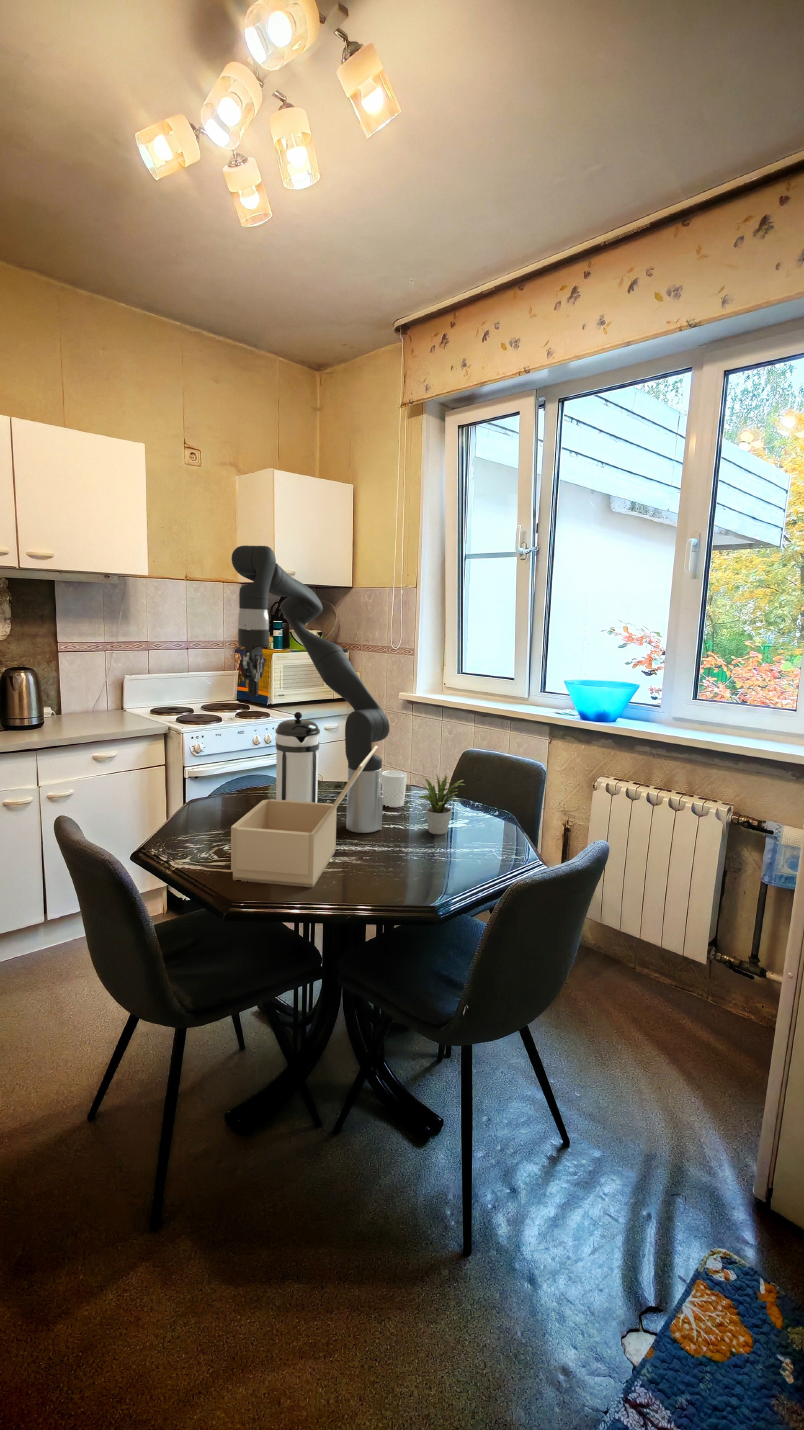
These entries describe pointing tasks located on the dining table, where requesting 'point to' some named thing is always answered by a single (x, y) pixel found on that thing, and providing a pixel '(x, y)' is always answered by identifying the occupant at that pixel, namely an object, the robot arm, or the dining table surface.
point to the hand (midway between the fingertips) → (253, 696)
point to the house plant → (439, 805)
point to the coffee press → (297, 760)
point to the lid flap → (346, 789)
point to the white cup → (393, 788)
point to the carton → (283, 843)
